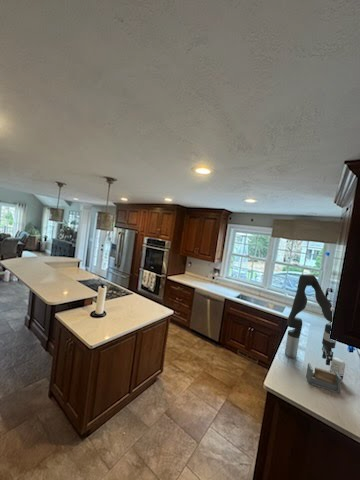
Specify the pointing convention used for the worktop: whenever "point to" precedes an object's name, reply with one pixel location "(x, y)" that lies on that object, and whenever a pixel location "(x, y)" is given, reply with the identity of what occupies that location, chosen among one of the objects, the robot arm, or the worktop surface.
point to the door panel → (325, 375)
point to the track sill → (322, 383)
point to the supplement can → (337, 366)
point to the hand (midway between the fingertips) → (325, 361)
